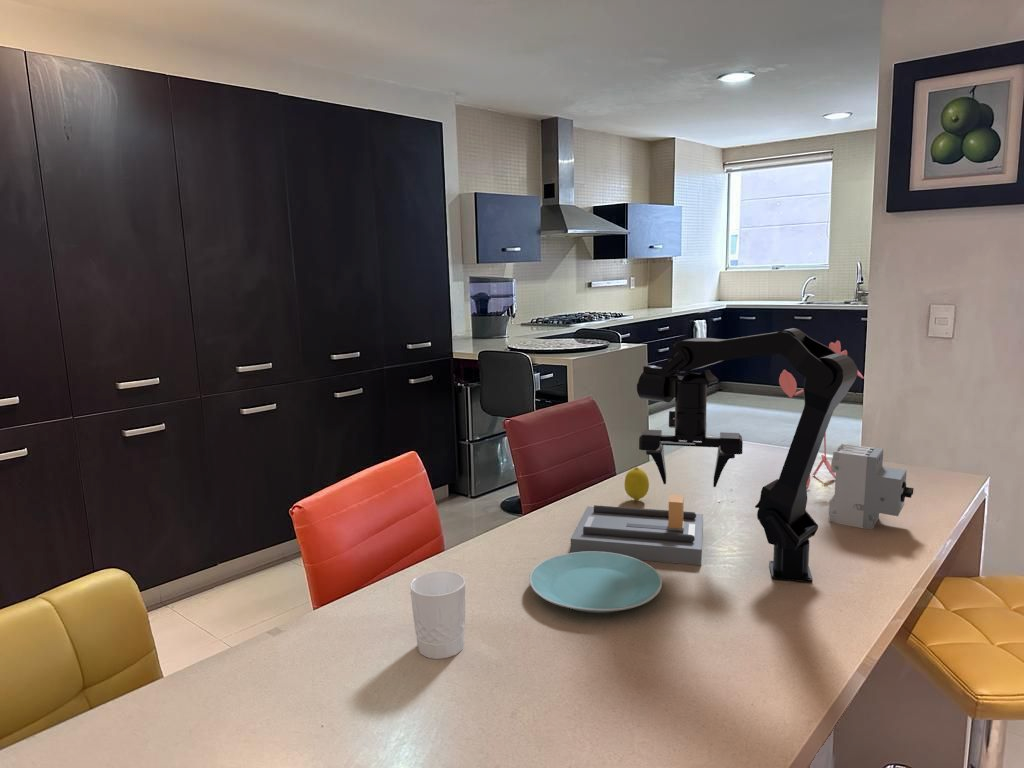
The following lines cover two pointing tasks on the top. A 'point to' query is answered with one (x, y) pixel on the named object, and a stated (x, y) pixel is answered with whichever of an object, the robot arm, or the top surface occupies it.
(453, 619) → the white cup
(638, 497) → the lemon
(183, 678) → the top surface
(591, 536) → the panel
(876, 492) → the circuit breaker
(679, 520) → the breaker handle
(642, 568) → the plate
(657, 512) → the grey slider track
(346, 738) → the top surface
